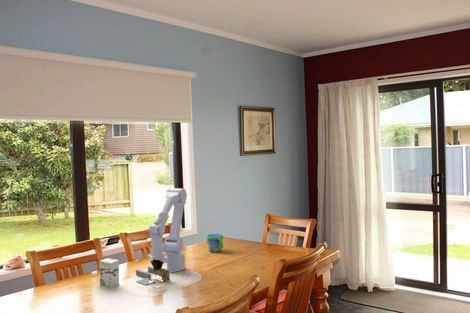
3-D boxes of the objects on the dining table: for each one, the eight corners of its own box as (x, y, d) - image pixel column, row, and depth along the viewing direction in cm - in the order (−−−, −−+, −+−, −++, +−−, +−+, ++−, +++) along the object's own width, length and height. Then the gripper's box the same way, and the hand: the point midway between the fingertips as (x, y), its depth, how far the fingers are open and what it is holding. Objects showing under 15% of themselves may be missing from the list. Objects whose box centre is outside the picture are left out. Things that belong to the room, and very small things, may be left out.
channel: (149, 271, 224) (149, 266, 224) (163, 275, 216) (162, 270, 216) (136, 274, 218) (135, 270, 218) (149, 279, 210) (149, 274, 210)
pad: (146, 279, 211) (146, 278, 211) (155, 282, 206) (155, 281, 206) (136, 281, 207) (136, 281, 207) (145, 285, 201) (145, 284, 201)
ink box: (99, 284, 204) (98, 260, 204) (107, 281, 208) (106, 257, 208) (112, 287, 200) (111, 262, 200) (119, 284, 204) (119, 259, 204)
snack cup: (228, 253, 260) (227, 236, 260) (212, 255, 255) (212, 238, 255) (217, 247, 274) (217, 232, 273) (202, 250, 269) (202, 234, 268)
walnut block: (163, 277, 213) (162, 268, 212) (169, 280, 209) (169, 270, 209) (155, 279, 209) (155, 270, 209) (162, 282, 206) (162, 272, 205)
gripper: (142, 247, 214) (142, 273, 214) (159, 251, 204) (159, 279, 204) (153, 244, 219) (154, 270, 219) (170, 248, 209) (171, 275, 209)
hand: (157, 274), depth 212 cm, fingers closed
